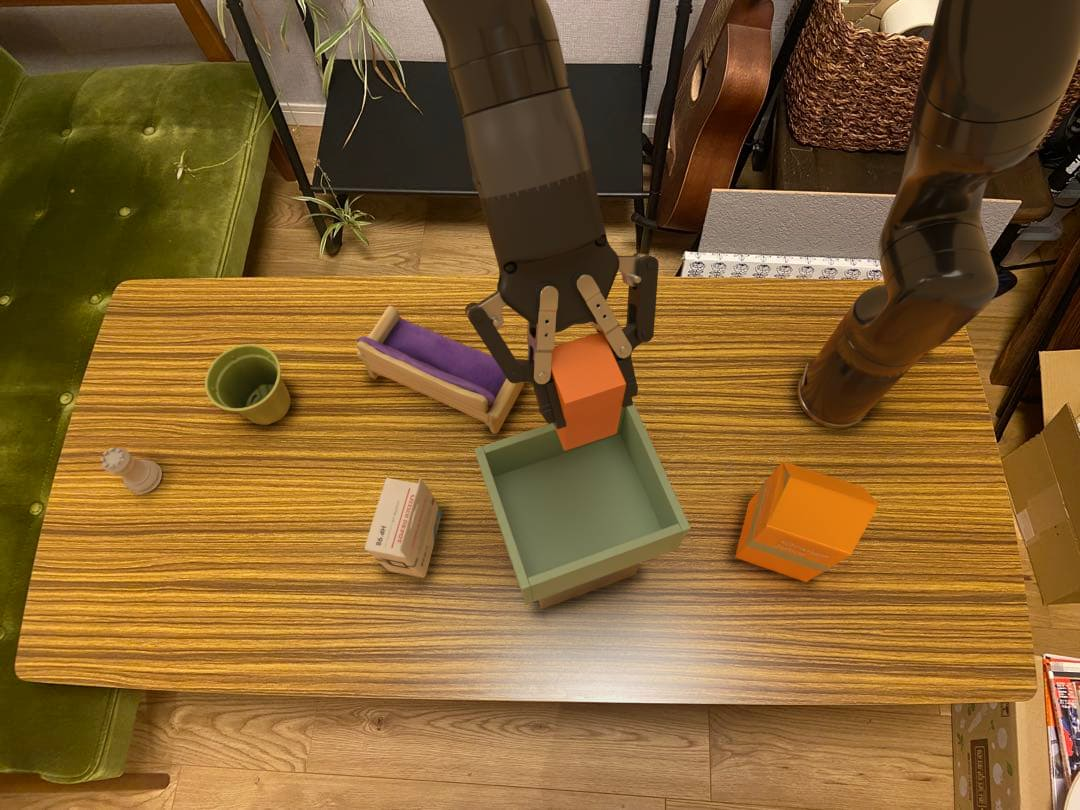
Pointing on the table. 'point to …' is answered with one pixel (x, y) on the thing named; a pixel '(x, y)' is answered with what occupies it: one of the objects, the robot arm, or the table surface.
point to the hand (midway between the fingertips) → (592, 412)
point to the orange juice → (803, 522)
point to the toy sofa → (438, 368)
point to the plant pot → (248, 384)
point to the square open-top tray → (580, 505)
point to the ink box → (404, 527)
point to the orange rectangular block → (587, 389)
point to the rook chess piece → (132, 470)
